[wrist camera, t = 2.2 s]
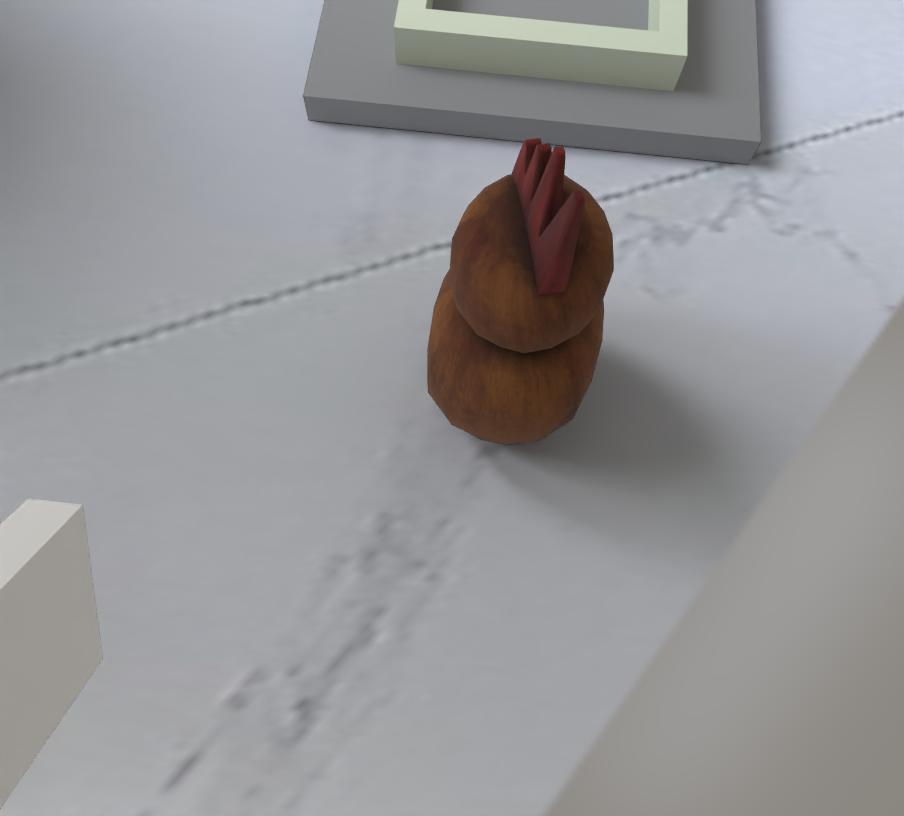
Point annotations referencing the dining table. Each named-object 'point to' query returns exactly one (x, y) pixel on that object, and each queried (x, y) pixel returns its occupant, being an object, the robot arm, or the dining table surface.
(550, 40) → the jig plate
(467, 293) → the wooden figurine
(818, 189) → the dining table surface
